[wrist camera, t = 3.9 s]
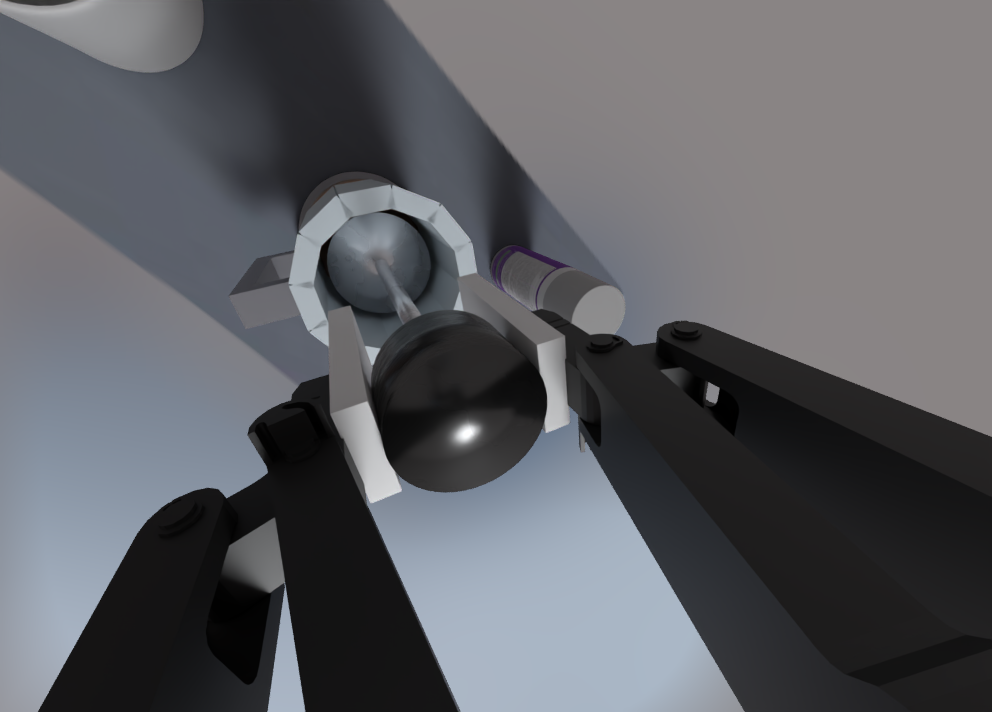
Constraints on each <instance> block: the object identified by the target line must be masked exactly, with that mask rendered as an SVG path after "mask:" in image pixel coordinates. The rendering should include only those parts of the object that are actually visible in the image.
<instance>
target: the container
mask: <svg viewBox="0 0 992 712" xmlns="http://www.w3.org/2000/svg"><path fill="white" fill-rule="evenodd" d="M490 272H491V277H492V280H493V282H494V283H495V284H496V286H498V287H499V288H500V289H502V290H503V291H504V292H506V293H507V294H509V295H510V296H512V297H513V298H514V299H516V300H517V301H519V302H520V303H521V304H523V305H524V306H526V307H527V308H529V309H530V310H531V311H535V310H538V309H544V310H548V311H552V312H555V313H557V314H558V315H560V316H561V317H563V319H566V320H568V321H569V322H570V323H571V324H574V325H575V326H577V327H579V328H580V329H582V330H583V331H585V332H586V333H588V334H590V335H592V334H601V333H602V334H613V335H614V333H615V332H616V331H617V330H618V328H619V327H620V325H621V323H622V321H623V318H624V314H625V300H624V297H623V295H622V293H621V292H620V291H619V290H618V289H617V288H616V287H614V286H612V285H609V284H607V283H605V282H603V281H601V280H599V279H596V278H594V277H592V276H590V275H588V274H586V273H583V272H581V271H579V270H577V269H575V268H573V267H570V266H568V265H565V264H563V263H560V262H558V261H555V260H553V259H550V258H548V257H546V256H543V255H541V254H538V253H536V252H533V251H531V250H528V249H526V248H523V247H521V246H517V245H509V246H506V247H504V248H502V249H501V250H500V251H498V252H497V254H496V255H495V256H494V258H493V260H492V263H491V269H490Z"/></svg>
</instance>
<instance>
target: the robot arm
mask: <svg viewBox="0 0 992 712" xmlns="http://www.w3.org/2000/svg"><path fill="white" fill-rule="evenodd" d="M457 280H458V285H459V290H460V295H461V300H462V305H463V310H464V311H465V312H469V313H472V314H475V315H477V316H479V317H481V318H483V319H484V320H486V321H487V322H489V323H490V324H491V325H492V326H493V327H494V328H495V329H496V330H497V331H499V332H500V333H501V334H502V335H503V336H504V337H505V338H506V339H507V340H508V341H509V342H510V343H511V344H512V345H513V346H514V347H515V348H516V349H517V350H518V351H520V352H521V353H522V354H523V355H524V356H525V357H526V358H527V359H528V360H529V361H530V362H531V363H532V364H533V365H534V366H535V367H536V369H537V370H538V371H539V373H540V375H541V377H542V378H543V381H544V384H545V387H546V392H547V413H546V417H545V421H544V424H543V427H542V429H543V430H544V431H545V432H546V433H548V432H550V431H553V430H555V429H558V428H560V427H562V426H565V425H567V424H570V413H569V406H570V407H571V408H572V409H573V410H574V411H575V412H576V413H577V414H578V424H579V445H580V450H581V452H585V442H587V444H588V445H589V447H590V450H591V451H592V452H593V454H594V456H595V457H596V459H597V461H598V463H599V464H600V466H601V468H602V469H603V471H604V473H605V474H606V476H607V478H608V480H609V481H610V483H611V485H612V486H613V488H614V490H615V492H616V493H617V495H618V497H619V498H620V500H621V502H622V503H623V505H624V507H625V509H626V510H627V512H628V514H629V515H630V517H631V519H632V520H633V522H634V524H635V526H636V527H637V529H638V531H639V532H640V534H641V536H642V538H643V539H644V541H645V542H646V544H647V546H648V548H649V549H650V551H651V553H652V554H653V556H654V558H655V560H656V561H657V563H658V565H659V566H660V568H661V570H662V572H663V573H664V575H665V577H666V578H667V580H668V582H669V583H670V585H671V587H672V589H673V590H674V592H675V594H676V595H677V597H678V599H679V601H680V602H681V604H682V606H683V607H684V609H685V611H686V612H687V614H688V616H689V617H690V619H691V621H692V623H693V624H694V626H695V628H696V629H697V631H698V633H699V635H700V636H701V638H702V640H703V641H704V643H705V645H706V646H707V648H708V650H709V652H710V653H711V655H712V657H713V658H714V660H715V662H716V663H717V665H718V667H719V668H720V670H721V672H722V674H723V675H724V677H725V679H726V680H727V682H728V684H729V686H730V687H731V689H732V691H733V692H734V694H735V696H736V697H737V699H738V701H739V703H740V704H741V706H742V708H743V710H744V711H745V712H992V437H990V436H988V435H985V434H983V433H980V432H977V431H975V430H972V429H970V428H967V427H965V426H962V425H960V424H957V423H955V422H952V421H949V420H947V419H944V418H942V417H939V416H937V415H934V414H931V413H929V412H926V411H924V410H921V409H919V408H916V407H913V406H911V405H908V404H906V403H903V402H901V401H898V400H895V399H893V398H890V397H888V396H885V395H883V394H880V393H878V392H875V391H873V390H870V389H867V388H865V387H862V386H860V385H857V384H855V383H852V382H849V381H847V380H844V379H841V378H839V377H836V376H834V375H831V374H829V373H826V372H824V371H821V370H819V369H816V368H814V367H811V366H808V365H806V364H803V363H801V362H798V361H796V360H793V359H790V358H788V357H785V356H783V355H780V354H778V353H775V352H773V351H770V350H767V349H765V348H762V347H760V346H757V345H755V344H752V343H750V342H747V341H744V340H742V339H739V338H737V337H734V336H732V335H729V334H726V333H724V332H721V331H719V330H716V329H714V328H711V327H709V326H706V325H702V324H699V323H695V322H688V321H681V322H680V321H675V322H672V323H668V324H665V325H663V326H662V327H660V328H659V329H658V331H657V341H656V343H650V344H643V345H635V346H632V345H631V344H630V343H629V342H628V341H627V340H625V339H624V338H622V337H620V336H617V335H613V334H602V333H601V334H592V335H590V334H588V333H586V332H585V331H583V330H582V329H580V328H579V327H577V326H575V325H574V324H571V323H570V322H569V321H568V320H566V319H563V317H561V316H560V315H558V314H557V313H555V312H552V311H548V310H544V309H538V310H535V311H532V312H530V311H529V310H528V309H526V308H525V307H523V306H522V305H520V304H519V303H518V302H516V301H515V300H513V299H512V298H511V297H509V296H508V295H506V294H505V293H504V292H502V291H501V290H499V289H498V288H496V287H495V286H494V285H492V284H491V283H489V282H488V281H487V280H485V279H484V278H482V277H481V276H479V275H478V274H477V273H472V274H469V275H465V276H461V277H457ZM328 333H329V375H325V376H322V377H319V378H316V379H312V380H309V381H306V382H302V383H301V384H300V385H299V386H298V388H297V389H296V390H295V391H294V393H293V394H292V399H291V401H288V402H285V403H281V404H279V405H278V406H275V407H273V408H271V409H269V410H268V411H266V412H265V413H263V414H262V415H261V416H259V417H258V418H257V419H256V420H255V421H254V422H253V424H252V425H251V426H250V427H249V431H248V436H249V438H250V440H251V442H252V443H253V445H254V446H255V448H256V450H257V451H258V453H259V455H260V456H261V458H262V459H263V461H264V463H265V464H266V466H267V469H268V473H267V474H266V475H265V476H263V477H262V478H261V479H259V480H258V481H256V482H255V483H253V484H252V485H250V486H248V487H246V488H244V489H243V490H241V491H239V492H237V493H236V494H234V495H232V496H230V497H228V498H227V499H226V497H225V496H224V495H223V494H222V493H221V492H220V491H219V490H218V489H213V488H205V489H200V490H195V491H192V492H190V493H188V494H185V495H183V496H181V497H178V498H176V499H174V500H173V501H172V502H170V503H168V504H166V505H165V506H163V507H162V508H161V509H160V510H159V511H158V512H156V513H155V514H154V515H153V516H152V517H151V518H150V519H148V520H147V522H146V523H145V524H144V526H143V527H142V528H141V529H140V531H139V532H138V533H137V535H136V537H135V539H134V540H133V542H132V544H131V546H130V548H129V549H128V551H127V553H126V555H125V557H124V559H123V560H122V562H121V564H120V566H119V568H118V569H117V571H116V573H115V575H114V576H113V578H112V580H111V582H110V583H109V585H108V587H107V589H106V591H105V592H104V594H103V596H102V598H101V600H100V602H99V603H98V605H97V607H96V609H95V610H94V612H93V614H92V616H91V618H90V619H89V621H88V623H87V625H86V627H85V629H84V630H83V632H82V634H81V635H80V637H79V639H78V641H77V643H76V645H75V646H74V648H73V650H72V652H71V653H70V655H69V657H68V659H67V661H66V663H65V664H64V666H63V668H62V670H61V671H60V673H59V675H58V677H57V679H56V680H55V682H54V684H53V686H52V687H51V689H50V691H49V693H48V695H47V696H46V698H45V700H44V702H43V704H42V706H41V707H40V709H39V711H38V712H267V711H268V704H269V696H270V689H271V682H272V675H273V668H274V660H275V653H276V645H277V639H278V632H279V625H280V617H281V610H282V603H283V596H284V588H285V585H286V591H287V597H288V603H289V610H290V616H291V623H292V629H293V635H294V642H295V648H296V654H297V661H298V667H299V674H300V680H301V686H302V693H303V699H304V705H305V712H460V709H459V707H458V705H457V703H456V701H455V698H454V696H453V694H452V692H451V689H450V687H449V685H448V683H447V680H446V678H445V676H444V674H443V672H442V670H441V667H440V665H439V663H438V661H437V658H436V656H435V654H434V652H433V650H432V648H431V645H430V643H429V641H428V638H427V636H426V634H425V632H424V629H423V627H422V625H421V623H420V621H419V619H418V616H417V614H416V612H415V610H414V607H413V605H412V603H411V601H410V598H409V596H408V594H407V592H406V590H405V588H404V585H403V583H402V581H401V578H400V576H399V574H398V572H397V570H396V568H395V565H394V563H393V561H392V559H391V557H390V554H389V552H388V550H387V548H386V545H385V543H384V541H383V539H382V536H381V534H380V532H379V530H378V528H377V525H376V523H375V521H374V519H373V516H372V514H371V512H370V510H369V508H368V506H367V502H366V494H367V496H368V498H369V500H370V503H373V502H376V501H378V500H381V499H383V498H386V497H388V496H391V495H393V494H396V493H398V492H401V491H402V488H401V484H400V480H399V476H398V474H397V473H396V472H395V471H394V470H393V468H392V467H391V465H390V464H389V462H388V460H387V458H386V455H385V452H384V448H383V444H382V437H381V433H380V428H379V423H378V418H377V413H376V408H375V404H374V399H373V394H372V389H371V373H372V368H373V367H372V365H371V362H370V359H369V356H368V353H367V351H366V348H365V345H364V342H363V339H362V337H361V334H360V331H359V328H358V325H357V323H356V320H355V317H354V314H353V311H352V309H351V306H346V307H343V308H339V309H335V310H331V311H328ZM708 382H710V383H711V384H713V385H715V386H717V387H719V388H720V390H719V395H718V401H717V403H716V404H714V403H712V402H709V401H708V400H706V393H707V386H708ZM365 492H366V494H365ZM284 582H285V585H284Z"/></svg>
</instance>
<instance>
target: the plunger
mask: <svg viewBox="0 0 992 712" xmlns="http://www.w3.org/2000/svg"><path fill="white" fill-rule="evenodd" d="M327 265H328V272H329V275H330V278H331V281H332V283H333V285H334V286H335V288H336V290H337V291H338V292H339V293H340V295H341V296H342V297H343V298H344V299H345V300H347V301H348V302H349V303H351V304H352V305H354V306H356V307H357V308H360V309H362V310H365V311H369V312H374V313H389V312H394V311H397V314H398V316H399V318H400V320H401V322H402V324H403V325H402V326H401V327H399V328H398V329H397V330H396V331H395V332H393V333H392V335H391V336H390V337H389V338H388V339H387V340H386V341H385V343H384V344H383V346H382V347H381V348H380V350H379V352H378V354H377V356H376V359H375V361H374V364H373V368H372V373H371V389H372V394H373V399H374V404H375V408H376V413H377V418H378V423H379V428H380V433H381V437H382V444H383V448H384V452H385V455H386V458H387V460H388V462H389V464H390V465H391V467H392V468H393V470H394V471H395V472H396V473H397V474H398V475H399V476H400V477H401V478H402V479H404V480H405V481H407V482H408V483H410V484H412V485H414V486H416V487H418V488H421V489H425V490H428V491H434V492H458V491H464V490H468V489H472V488H476V487H478V486H481V485H484V484H486V483H488V482H490V481H492V480H494V479H496V478H498V477H500V476H501V475H503V474H504V473H506V472H507V471H508V470H510V469H511V468H512V467H514V466H515V465H516V464H517V463H518V462H519V461H520V460H521V459H522V458H523V457H524V456H525V455H526V454H527V452H528V451H529V450H530V449H531V447H532V446H533V444H534V443H535V441H536V440H537V438H538V436H539V434H540V432H541V429H542V427H543V424H544V421H545V417H546V413H547V392H546V387H545V384H544V381H543V378H542V377H541V375H540V373H539V371H538V370H537V369H536V367H535V366H534V365H533V364H532V363H531V362H530V361H529V360H528V359H527V358H526V357H525V356H524V355H523V354H522V353H521V352H520V351H518V350H517V349H516V348H515V347H514V346H513V345H512V344H511V343H510V342H509V341H508V340H507V339H506V338H505V337H504V336H503V335H502V334H501V333H500V332H499V331H497V330H496V329H495V328H494V327H493V326H492V325H491V324H490V323H489V322H487V321H486V320H484V319H483V318H481V317H479V316H477V315H475V314H472V313H469V312H465V311H460V310H439V311H434V312H429V313H426V314H423V315H421V314H420V312H419V311H418V309H417V308H416V306H415V304H414V303H413V302H414V301H415V300H416V299H417V298H418V297H419V296H420V294H421V293H422V292H423V290H424V288H425V287H426V285H427V282H428V279H429V275H430V268H431V264H430V255H429V251H428V248H427V246H426V243H425V241H424V240H423V238H422V236H421V235H420V234H419V233H418V231H417V230H416V229H415V228H414V227H413V226H411V225H410V224H409V223H407V222H406V221H404V220H403V219H401V218H399V217H397V216H395V215H392V214H388V213H383V212H373V213H368V214H363V215H358V216H354V217H352V218H350V219H349V220H347V221H346V222H345V223H344V224H343V225H342V226H341V227H340V228H339V229H338V230H337V231H336V232H335V234H334V235H333V237H332V239H331V241H330V244H329V248H328V254H327Z"/></svg>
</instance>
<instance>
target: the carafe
mask: <svg viewBox="0 0 992 712" xmlns="http://www.w3.org/2000/svg"><path fill="white" fill-rule="evenodd" d="M373 212H383V213H388V214H392V215H395V216H397V217H399V218H401V219H403V220H404V221H406V222H407V223H409V224H410V225H411V226H413V227H414V228H415V229H416V230H417V231H418V233H419V234H420V235H421V236H422V238H423V240H424V241H425V243H426V246H427V248H428V251H429V255H430V264H431V268H430V275H429V279H428V282H427V285H426V287H425V288H424V290H423V292H422V293H421V294H420V296H419V297H418V298H417V299H416V300H415V301H414V302H413V303H414V304H415V306H416V308H417V309H418V311H419V312H420V314H421V315H423V314H426V313H429V312H434V311H439V310H460V311H464V310H463V305H462V300H461V295H460V290H459V285H458V280H457V277H461V276H465V275H469V274H472V273H477V269H476V263H475V257H474V251H473V246H472V242H470V241H471V240H470V239H469V237H468V236H467V235H466V234H465V232H464V231H463V230H462V229H461V227H460V226H459V225H458V224H457V223H456V221H455V220H454V219H453V218H452V216H451V215H450V214H449V213H448V211H447V210H446V209H445V208H444V206H443V205H442V204H440V203H439V202H436V201H433V200H431V199H428V198H426V197H423V196H420V195H418V194H415V193H413V192H410V191H407V190H405V189H402V188H400V187H398V186H397V185H396V184H394V183H393V182H391V181H389V180H388V179H385V178H383V177H381V176H378V175H375V174H372V173H366V172H345V173H341V174H337V175H335V176H332V177H330V178H328V179H326V180H325V181H323V182H322V183H320V184H319V185H318V186H317V187H316V188H315V189H314V190H313V191H312V192H311V193H310V195H309V196H308V198H307V199H306V201H305V203H304V206H303V208H302V211H301V215H300V219H299V232H298V234H297V240H296V245H295V250H294V251H289V252H285V253H280V254H275V255H271V256H266V257H261V258H257V259H256V260H255V261H254V263H253V264H252V265H251V267H250V268H249V269H248V271H247V272H246V273H245V275H244V276H243V277H242V279H241V280H240V281H239V283H238V284H237V285H236V287H235V288H234V289H233V291H232V292H231V293H230V295H229V298H230V300H231V302H232V303H233V305H234V307H235V309H236V311H237V313H238V315H239V317H240V319H241V321H242V323H243V325H244V326H245V328H246V329H248V328H252V327H256V326H260V325H264V324H268V323H271V322H275V321H279V320H283V319H287V318H291V317H295V316H298V315H301V316H302V318H303V320H304V323H305V325H306V327H307V330H308V331H310V332H309V333H311V334H312V335H313V336H315V337H316V338H317V339H319V340H320V341H322V342H323V343H324V344H326V345H327V346H328V347H329V333H328V311H331V310H335V309H339V308H343V307H346V306H351V309H352V311H353V314H354V317H355V320H356V323H357V325H358V328H359V331H360V334H361V337H362V339H363V342H364V345H365V348H366V351H367V353H368V356H369V359H370V362H371V364H372V365H373V364H374V361H375V359H376V356H377V354H378V352H379V350H380V348H381V347H382V346H383V344H384V343H385V341H386V340H387V339H388V338H389V337H390V336H391V335H392V333H393V332H395V331H396V330H397V329H398V328H399V327H401V326H402V325H403V324H402V322H401V320H400V318H399V316H398V314H397V311H394V312H389V313H374V312H369V311H365V310H362V309H360V308H357V307H356V306H354V305H352V304H351V303H349V302H348V301H347V300H345V299H344V298H343V297H342V296H341V295H340V293H339V292H338V291H337V290H336V288H335V286H334V285H333V283H332V281H331V278H330V275H329V272H328V265H327V254H328V248H329V244H330V241H331V239H332V237H333V235H334V234H335V232H336V231H337V230H338V229H339V228H340V227H341V226H342V225H343V224H344V223H345V222H346V221H347V220H349V219H350V218H352V217H354V216H358V215H363V214H368V213H373Z"/></svg>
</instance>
